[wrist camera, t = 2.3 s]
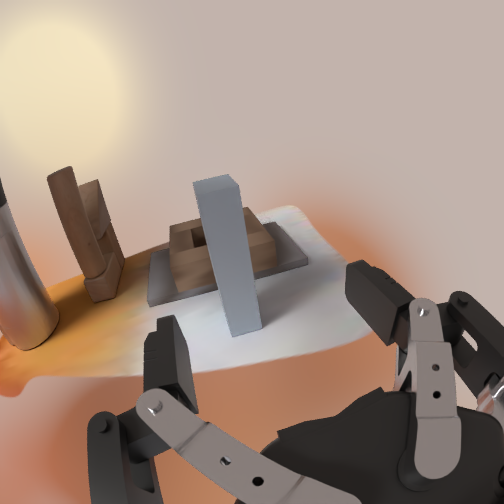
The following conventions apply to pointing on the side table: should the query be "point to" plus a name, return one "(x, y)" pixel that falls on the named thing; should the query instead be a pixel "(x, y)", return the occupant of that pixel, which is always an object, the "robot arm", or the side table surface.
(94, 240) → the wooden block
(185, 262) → the wooden socket base
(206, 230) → the rectangular block
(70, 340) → the side table surface
